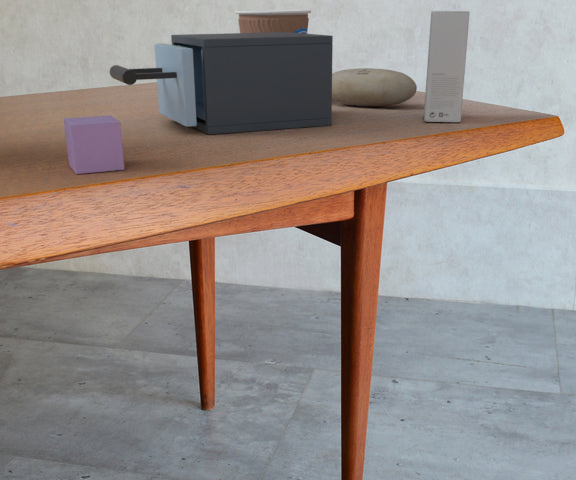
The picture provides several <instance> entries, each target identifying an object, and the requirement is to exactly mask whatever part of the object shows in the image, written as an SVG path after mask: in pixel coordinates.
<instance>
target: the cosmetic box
mask: <svg viewBox="0 0 576 480" xmlns="http://www.w3.org/2000/svg"><path fill="white" fill-rule="evenodd" d="M429 21H430V24H429V36H428V39H429V40H428V52H427V65H426V80H425V81H426V82H425V94H424V104H423V106H424V107H423V122H426V123H461V120H462V109H463V98H464V85H465V74H466V73H465V72H466V71H465V70H466V61H467V51H468V50H467V49H468V37H469V25H470V24H469V23H470V11H469V10H431V11H430V20H429Z"/></svg>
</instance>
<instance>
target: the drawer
mask: <svg viewBox="0 0 576 480" xmlns="http://www.w3.org/2000/svg"><path fill="white" fill-rule="evenodd" d="M154 60H155V61H154V62H155V67H144V68H127V67H124V66H121V65H118V64H114V65H112V66H111V67H109V68H110V69H109V75H110V76H111V78H112V79H114V80H116V81H118V82H120V83H123V84H125V85H128V86H133V85H134V84H136V82H137V81H143V80H145V81H146V80H156V86H157V88H156V90H157V101H158V113H159V114H160V115H162V116H164V117H166V118H168V119H170V120H172V121H174V122H176V123H178V124H180V125H182V126H184V127H186V128H187V127H192V126H197V121H196V117H198V118H201V119H203V120H205V100H204V79H203V58H202V47H199V46H193V45H178V46H175V45H172V44H170V43H169V44H168V43H154Z"/></svg>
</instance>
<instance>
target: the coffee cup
mask: <svg viewBox="0 0 576 480" xmlns="http://www.w3.org/2000/svg"><path fill="white" fill-rule="evenodd" d="M311 13H312V10H311V9H243V10H242V9H240V10H235V14H236V15H238V28H239V33H268V32H292V33H305V34H308V30H309V22H310V18H309V14H311Z"/></svg>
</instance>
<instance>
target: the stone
mask: <svg viewBox="0 0 576 480" xmlns="http://www.w3.org/2000/svg"><path fill="white" fill-rule="evenodd" d="M417 86H418V85H417V83H416V82H415V80H414V79H413V78H412V77H411V76H409V75H407V74H406V73H404V72H401V71H397V70H393V69H385V68H373V67H362V68H361V67H360V68H349V69H348V68H347V69H342V70H338V71H335V72H332V100H334V101H336V102H337V103H341V104H344V105H348V106H353V105H357V106H356V107H367V106H371V107H387V106H388V107H389V106H394V105H396V106H397V105H401V104H403V103H405V102H407V101H409V100H410V99H412V98H413V97H414V96H415V95H416V93H417V89H418V87H417Z"/></svg>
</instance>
